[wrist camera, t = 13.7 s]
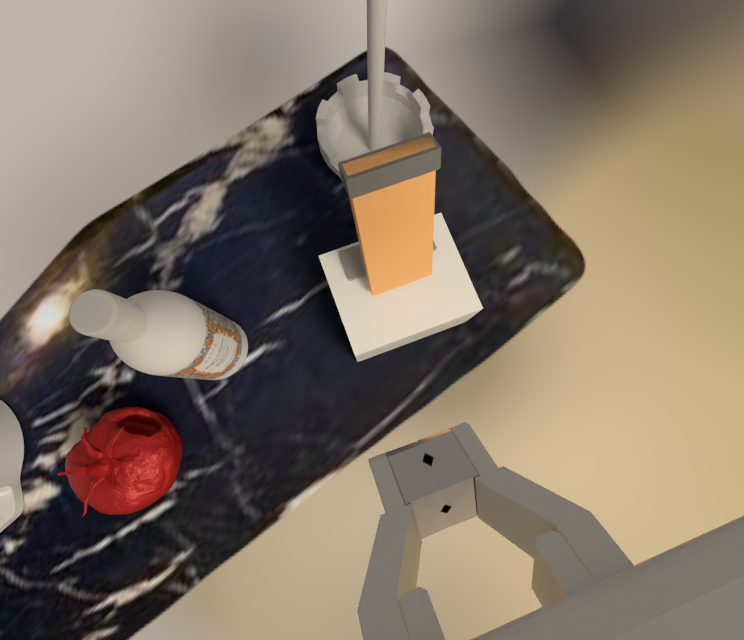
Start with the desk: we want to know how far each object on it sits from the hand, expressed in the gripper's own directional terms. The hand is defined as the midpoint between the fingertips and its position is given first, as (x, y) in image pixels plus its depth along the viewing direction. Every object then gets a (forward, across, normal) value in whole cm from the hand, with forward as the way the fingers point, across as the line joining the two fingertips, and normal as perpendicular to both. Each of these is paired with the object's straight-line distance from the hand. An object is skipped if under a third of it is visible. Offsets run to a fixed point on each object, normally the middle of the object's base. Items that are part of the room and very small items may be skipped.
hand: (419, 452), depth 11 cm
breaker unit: (+30, -7, +14) cm, 34 cm away
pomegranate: (+26, +23, +20) cm, 41 cm away
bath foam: (+32, +13, +14) cm, 37 cm away
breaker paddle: (+25, -7, +9) cm, 27 cm away
